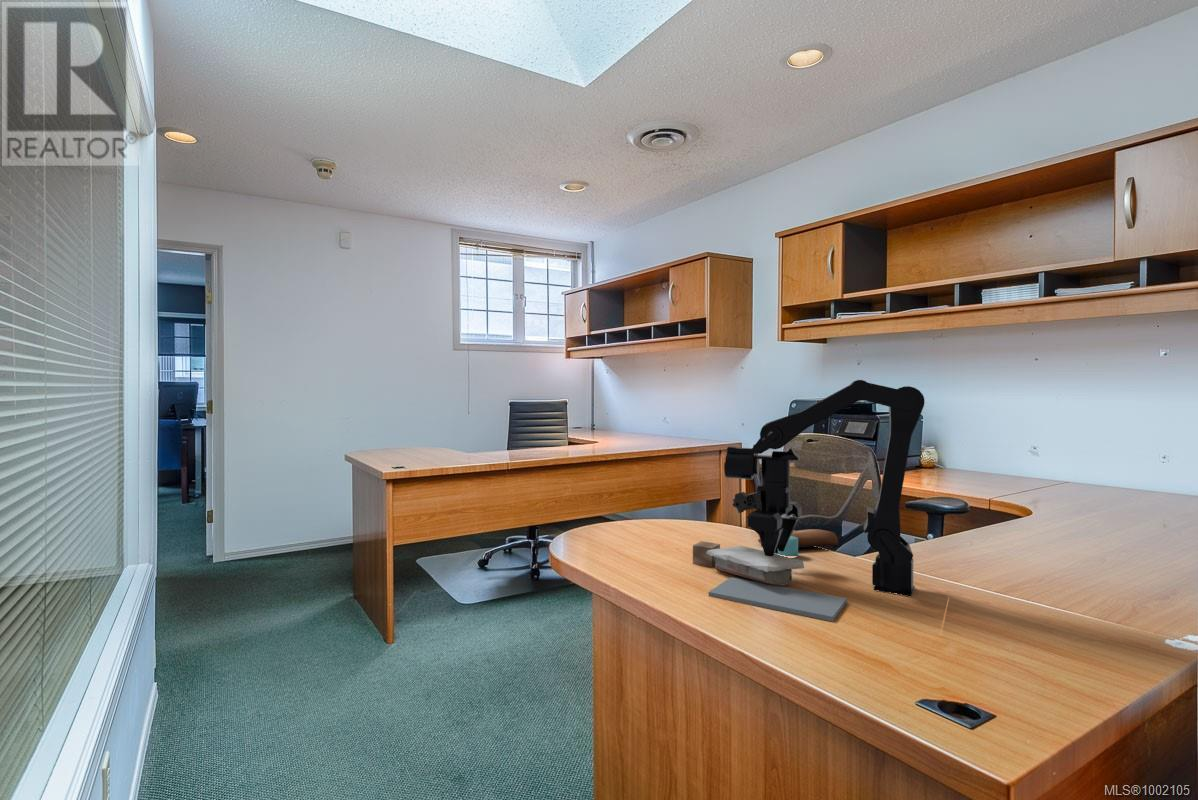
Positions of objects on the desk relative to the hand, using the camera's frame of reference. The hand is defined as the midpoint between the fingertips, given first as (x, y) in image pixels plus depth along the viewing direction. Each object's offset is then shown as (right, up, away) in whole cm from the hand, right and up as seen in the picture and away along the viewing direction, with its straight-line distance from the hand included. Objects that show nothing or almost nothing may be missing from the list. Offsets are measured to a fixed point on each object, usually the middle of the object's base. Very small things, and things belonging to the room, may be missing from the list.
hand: (775, 555), depth 123 cm
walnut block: (-13, -4, +8) cm, 16 cm away
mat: (-4, -4, -15) cm, 16 cm away
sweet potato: (+12, -5, +24) cm, 27 cm away
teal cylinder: (+7, -4, +14) cm, 16 cm away
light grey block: (-1, -2, 0) cm, 2 cm away
